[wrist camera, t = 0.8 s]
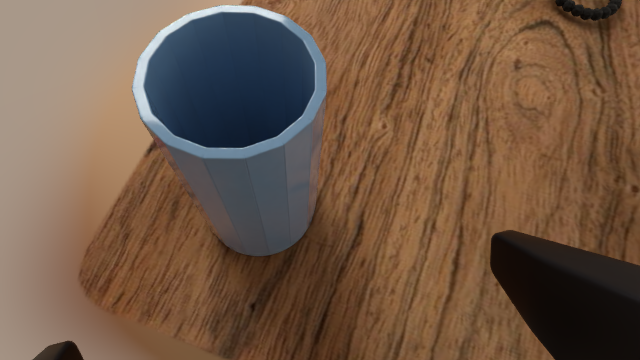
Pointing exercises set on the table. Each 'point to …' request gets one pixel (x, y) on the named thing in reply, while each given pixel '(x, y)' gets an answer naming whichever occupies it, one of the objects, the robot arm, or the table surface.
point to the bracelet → (588, 13)
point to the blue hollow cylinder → (239, 120)
